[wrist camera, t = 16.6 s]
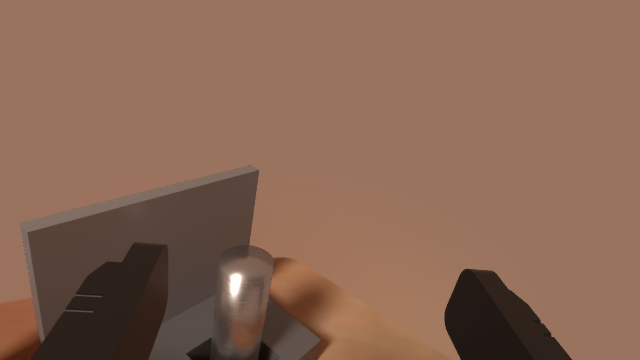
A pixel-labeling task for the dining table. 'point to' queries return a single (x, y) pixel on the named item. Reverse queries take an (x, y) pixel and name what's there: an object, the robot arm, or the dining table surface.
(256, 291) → the rod
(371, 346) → the dining table surface
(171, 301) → the grey l-shaped stand
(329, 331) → the dining table surface
